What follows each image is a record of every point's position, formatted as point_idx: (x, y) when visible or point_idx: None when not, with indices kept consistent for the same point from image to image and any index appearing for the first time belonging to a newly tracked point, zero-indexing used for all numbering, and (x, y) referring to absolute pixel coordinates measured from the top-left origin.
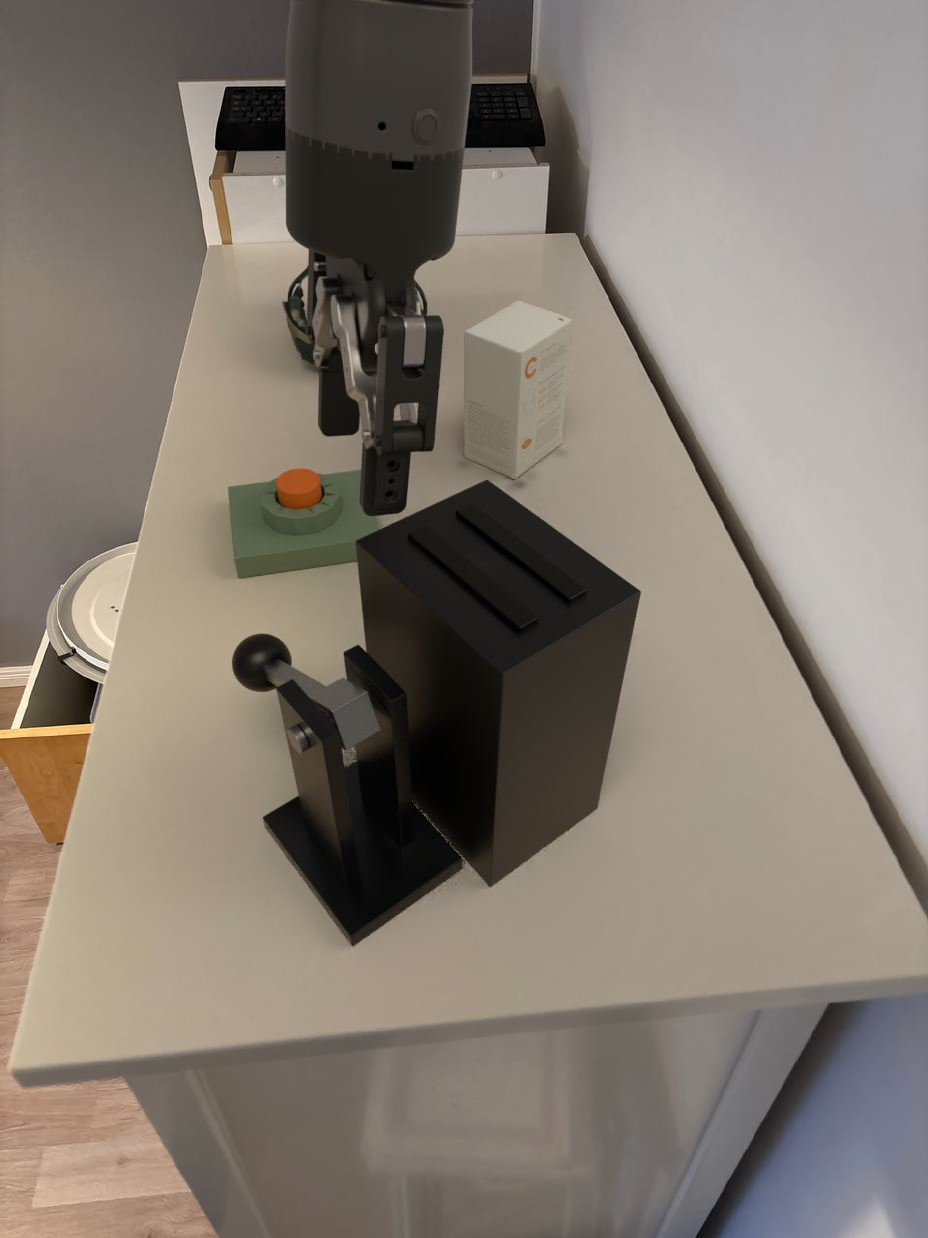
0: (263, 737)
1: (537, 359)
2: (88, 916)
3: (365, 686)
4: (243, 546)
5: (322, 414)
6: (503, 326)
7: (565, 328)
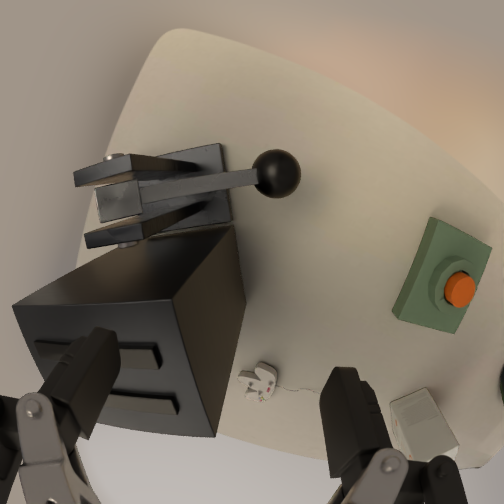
0: None
1: None
2: (218, 50)
3: (119, 225)
4: (445, 230)
5: (342, 390)
6: None
7: None
